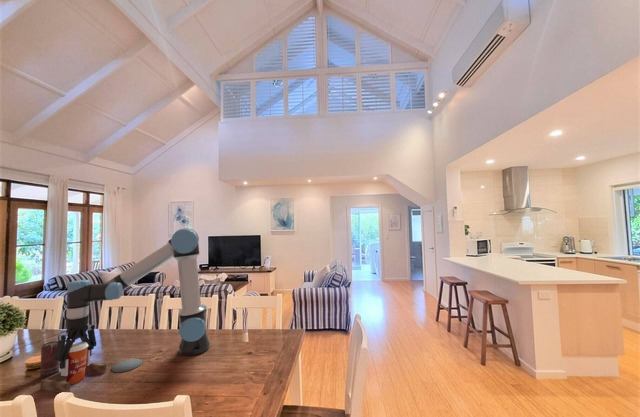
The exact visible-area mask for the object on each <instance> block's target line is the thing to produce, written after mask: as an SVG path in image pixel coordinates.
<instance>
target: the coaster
mask: <svg viewBox="0 0 640 417" xmlns="http://www.w3.org/2000/svg"><path fill="white" fill-rule="evenodd" d="M142 364H143V360H142V359H140V358H130V359H126V360H123V361H120V362H117V363H115V364H114V365H112V367H111V372H113V373H125V372H129V371H132V370H134V369H137V368H140V366H141V365H142Z"/></svg>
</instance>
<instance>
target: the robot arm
mask: <svg viewBox="0 0 640 417" xmlns="http://www.w3.org/2000/svg"><path fill="white" fill-rule="evenodd" d="M199 239H200V237H199V234H198V233H197V232H196V230H194V229H191V228H180V229H178V230H176V231H175V232H174V233H173V234H172V236H171V238H170V239H169V240H167V243H166V244H165V245H163V246H162V247H159V249H157V250H155V251H154V252H152V253H150V254H149V255H147V256H146V257H144V258H143V259H141V260H140V261H138V262H136V263H134V264H133V265H132V266H130V267H129V268H127V269H126V270H124V271H121V273H119V274H117V275H116V276H114V277H113V278H111V279H110V280H108V281H106V282H103V283H95V284H94V283H93V284H92V283H91V282H90V280H89V279H78V280H72V281H70V282H69V283H67V291H66V320H65V328H66V331H65V332H64V333H63V334H58V335H57V341H58V344H57V348H56V353H55V357H54V361H59V370H60V372H61V376H68V359H66V358H67V356H68V354H69V351H70V348H71V347H72V345H73V343H76V340H78V339H80V341H81V342H87V344H88V345H89V346H88V347H87V357H86V366H89V365H90V363H91V357H92V350H94V348H95V347H96V346H97V339H96V334H95V329H96V328H95V327H96V325H95V324H89V319H90V318H89V314H90V302H102V301H113V300H114V301H115V300H119V299H121V297H122V294H123V290H125V289H127V288H128V287H130V286H131V285H133V284H134V283H137V281H139V280H140V279H142V278H143V277H145V276H147V275H148V274H150V273H151V272H153V271H154V270H155V269H157V268H159V267H161V266H163V265H164V264H165V263H167V262H168V261H169V260H171V259H175V260H176V261H177V269H178V280H179V292H180V300H181V301H180V302H181V310H180V312H179V313H178V317H179V329H178V333H179V336H180V338H181V340H180V343H179V346H178V354H179V355H181V356H195V355H199V354H202V353H205V352H206V351H209V349H210V347H211V345H210V344H211V343H210V341H209V337H208V334H207V310H208V309H207V305H206V304H202V300H201V291H200V283H199V282H200V280H199V279H200V278H199V271H198V268H199V267H198V260H197V258H198V257H199V256H200V246H199V244H200V243H199V241H200V240H199Z"/></svg>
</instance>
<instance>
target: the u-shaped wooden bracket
mask: <svg viewBox="0 0 640 417" xmlns="http://www.w3.org/2000/svg"><path fill="white" fill-rule="evenodd" d="M85 373H95V374H102V375H103V374H105V373H107V364H106V363H105V364H104V363H96V362H90V365H89V366H86V368H85ZM64 380H66V376H61V371H59V373H56V374H54V375H52V376H50V377H47V378H45V379H41V380H40V390H43V391H48V392H55V391H60V392H59V393H62V392H68V393H70V392H71V384H70V382H66V381H64Z"/></svg>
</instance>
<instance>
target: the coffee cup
mask: <svg viewBox="0 0 640 417" xmlns="http://www.w3.org/2000/svg"><path fill="white" fill-rule="evenodd" d="M88 346H89V345H88V344H87V342H82V341H77V342H76V341H75V342H74V343H73V345H72V347H71V348H70V351H69V354H68V356H67V358H66V359H68V376H66V379H65V382H70V385H73V384H77V383H80V382H82V381H84V379H85V376H86V372H85V368H86V357H87V347H88Z"/></svg>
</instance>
